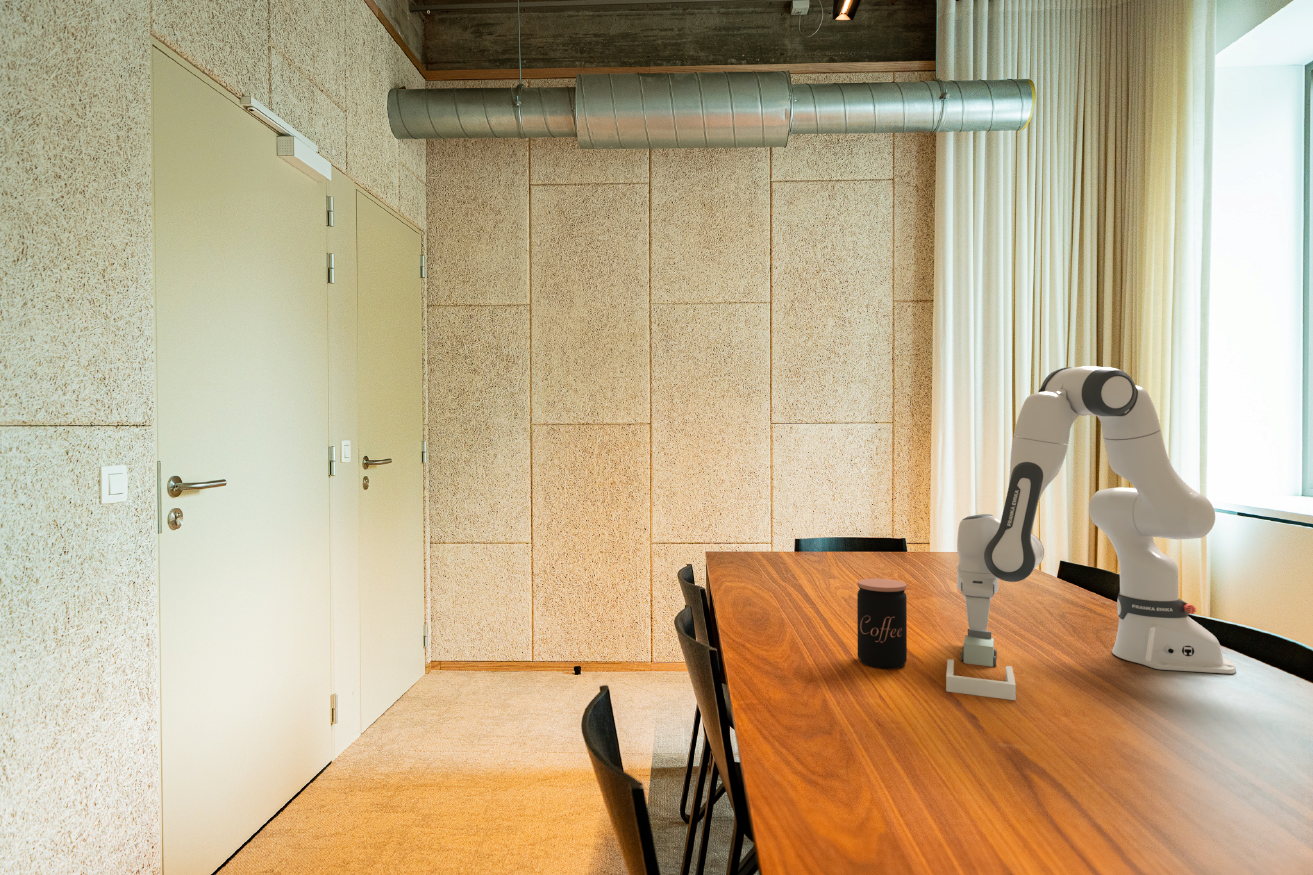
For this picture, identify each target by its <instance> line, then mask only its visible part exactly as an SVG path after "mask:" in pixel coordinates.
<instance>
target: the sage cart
mask: <svg viewBox="0 0 1313 875" xmlns="http://www.w3.org/2000/svg"><path fill="white" fill-rule="evenodd" d="M997 654H998V651H997V649H995V638H994V637H992V631H991V630H986V631H975V630H970V629H969V628H967V634H966V635H965V637H964V640H963V645H962V648H961V652H960V662H963V664H969V665H977V666H985V667H992V668H993V667H994V666H997V659H998V657H997V656H998V655H997Z"/></svg>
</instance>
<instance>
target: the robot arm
mask: <svg viewBox="0 0 1313 875" xmlns="http://www.w3.org/2000/svg"><path fill="white" fill-rule="evenodd" d="M1079 416H1084V417H1085V416H1096V417H1097V418H1098V420H1099V421H1100V425H1101V426H1100V427H1101V434H1102V439H1103V443H1104V448H1105V451H1106V457H1107V461H1108V465H1109V467H1110V469H1111V470H1112V472H1114V473H1115V474H1116V475H1118V476H1120V477H1121V478H1123V479H1125V480H1126V481H1128V482H1129V484H1131V485H1132V486H1133V487H1126V486H1125V487H1123V486H1119V487H1111V488H1104V489H1099V490H1097V491H1096V492H1095V493H1093V495H1092V497H1091V498H1090V500H1089V503H1088V515H1089V517H1090V519H1091V521H1092V523H1093V524H1094V525H1095V526H1096V527H1097V528H1099V530H1101V531H1102V532H1103V533H1104V534H1105V536H1106V537H1107V538H1108V540H1109V541H1110V543H1111V545H1112V547H1113V549H1114V552H1115V554H1116V557H1117V562H1118V568H1119V569H1118V570H1119V571H1118V572H1119V593H1118V594H1117V599H1116V600H1117V601H1116V602H1117V605H1116V607H1117V608H1116V610H1117V611H1116V612H1117V617H1118V626H1117V634H1116V638H1115V639H1116V640H1115V643H1114V646H1113V648H1112V650H1111V651H1112V652H1111V653H1112V654H1113V655H1115V656H1116V657H1118V658H1120V659H1123V660H1124V661H1125V660H1126V661H1128V662H1132V663H1137V664H1140V665H1144V666H1147V667H1150V668H1152V669H1156V670H1165V671H1181V672H1182V671H1183V672H1198V673H1211V674H1213V673H1214V674H1215V673H1216V674H1217V673H1218V674H1231V675H1232V674H1235V673H1236V672H1237V669H1236V665H1235V663H1234V662H1232V660H1230V659H1228V658H1227V657H1225V656H1223V651H1222V648H1221V644H1220V642H1219V640H1218V639H1217V637H1216V636H1215V635H1214V634H1213V633H1212V632H1210V631H1209V630H1208V629H1206V628H1205V627H1203V625H1201V624H1199V623H1198V622H1197V621H1195V620H1194V619H1192V618H1191V617H1190V616H1189V615H1194V614H1195V613H1197V607H1196V606H1195V605H1193V604H1192V603H1188V602H1186V601H1185V600H1182V599H1181V598H1179V568H1178V567H1179V566H1177V563H1176V562H1175V560H1174V559H1172V558H1171V557H1170V556H1169V555H1166V554H1165V553H1164V552H1162V551H1161V550H1160V549H1159V548H1158V547H1157V544H1156V543H1155V541H1154V538H1161V539H1169V540H1170V539H1171V540H1193V539H1201V538H1204V537H1206V536H1207V535H1208V534H1209V533H1210V532H1211V530H1212V529H1213V527H1214V525H1215V521H1216V512H1215V508H1214V506H1213V504H1212V503H1211V501H1210V500H1209V499H1208V498H1207V497H1206V496H1204V495H1202V494H1200V493H1199V492H1198V491H1196V490H1195V489H1193V488H1192V487H1190V486H1189V485H1188V484H1187V483H1186V482H1185V481H1184V480H1183V479H1182V478H1181V477H1180V476H1179V474H1178V473H1177V471H1176V470H1175V469H1174V467H1173V466H1172V463H1171V462H1170V459H1169V457H1168V453H1167V450H1166V446H1165V442H1164V439H1163V434H1162V430H1161V425H1160V420H1159V418H1158V414H1157V410H1156V408H1155V405H1154V403H1153V401H1152V398H1151V396H1150V394H1149V392H1148V391H1147V390H1146V389H1145V388H1144V387H1142V386H1141V385H1136V384H1135V382H1134V380H1133V379H1132V377H1131V376H1129V374H1128V373H1127V372H1125V371H1123V370H1121V369H1119V368H1116V367H1112V366H1103V367H1102V366H1096V365H1084V366H1076V367H1070V366H1069V367H1063V368H1059V369H1056V370H1054V371H1052V372H1051V373H1049V374H1048V375H1047V376H1046V377H1045V379H1044V380H1043V382H1042V384H1041V386H1040V388H1039V390H1038V391H1037V392H1034V393H1031V394H1030V395H1028V396H1027V398H1026V399H1025V400H1024V401H1023V404H1022V407H1021V409H1020V411H1019V415H1018V418H1017V420H1016V425H1015V428H1014V431H1013V438H1012V441H1011V450H1010V460H1009V461H1010V462H1009V469H1010V470H1009V480H1008V489H1007V493H1006V497H1005V502H1004V507H1003V512H1002V515H1001V518H1000V519H998V518H997V517H996V516H995V515H993V514H988V513H985V514H974V515H969V516H967V517H965V518H962V520H961V521H960V522H959V525H958V528H957V541H956V542H957V543H956V550H957V554H958V563H957V567H956V568H957V570H956V572H957V573H956V574H957V575H956V576H957V578H956V580H957V582H956V584H957V586H956V587H957V589H958V590H959V591H960V592H961V594H962V596H963V597H964V600H965V606H966V607H965V610H966V618H967V623H968V629H970V630H975V631H987V629H988V625H989V624H988V623H989V615H990V608H991V600H992V599H993V598H994V596H995V594H996V593H998V592H999V580H1001V581H1004V582H1008V583H1009V582H1010V583H1014V582H1015V583H1016V582H1021V581H1023V580H1026V579H1027V578H1028V577H1029V576H1030V575H1031V574H1032V572H1033V571H1034V570H1035V569H1036V568H1038V566H1039V565H1040V564H1041V563H1042V561H1043V559H1044V557H1045V556H1044V555H1045V549H1044V546H1043V544H1042V541H1041V540H1040V539H1039V537H1037V536H1036V535H1035V534H1033V533H1032V532H1033V529H1034V528H1033V526H1034V523H1035V519H1036V514H1037V510H1038V506H1039V502H1040V499H1041V497H1042V495H1043V493H1044V492H1045V490H1046V488H1047V487H1048V486H1049V485H1050V483H1051V482H1052V481H1053V480H1054V479H1055V478H1056V477H1057V476H1058V475H1059V473H1060V471H1061V468H1062V466H1063V464H1064V461H1065V458H1066V454H1067V451H1068V447H1069V446H1068V445H1069V442H1070V434H1071V433H1070V432H1071V429H1072V426H1073V424H1074V423H1075V420H1076V419H1077V418H1078V417H1079Z"/></svg>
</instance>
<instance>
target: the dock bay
mask: <svg viewBox="0 0 1313 875" xmlns="http://www.w3.org/2000/svg"><path fill="white" fill-rule="evenodd" d="M954 664H955V660H954V659H951V658H949V659H948V658H947V662H946V676H945V680H946V681H945V682H946V683H945V685H946V686H945V687H946V688H945V691H946V692H950V693H956V694H964V695H971V696H980V697H986V698H994V699H1000V700H1001V699H1003V700H1010V701H1016V700H1017V698H1016V697H1017V696H1016V694H1017V691H1016V690H1017V689H1016V688H1017V686H1016V680H1015V674H1014V671H1013V670H1014V669H1013V666H1012V665H1005V681H1004V680H995V679H986V678H979V677H977V678H976V677H970V676H969V677H968V676H964V675H963V676H960V675H956V674H955V669H954V668H955V665H954Z"/></svg>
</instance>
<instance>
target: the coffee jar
mask: <svg viewBox="0 0 1313 875" xmlns="http://www.w3.org/2000/svg"><path fill="white" fill-rule="evenodd" d="M857 587H858V588H859V589H858V590H857V594H856V595H857V597H856V598H857V599H856V600H857V601H856V602H857V603H856V604H857V609H856V612H857V613H856V614H857V619H856V620H857V624H856V626H857V658H858V659H859V661H860V662H861V664H863V665H865V666H866V667H869V668H873V669H874V668H875V669H880V670H881V669H882V670H893V669H894V670H895V669H900V668H902V667H903V666H904V665H905V664H906V662H907V660H908V654H907V652H908V647H907V646H908V642H907V641H908V640H907V638H908V636H907V634H908V633H907V631H908V630H907V629H908V628H907V623H908V622H907V620H908V618H907V616H908V615H907V614H908V613H907V610H908V609H907V607H908V606H907V603H908V602H907V599H908V598H907V594H906V593H905V591H906V590H907V584H906V583H905V582H904V581H900V580H896V579H890V578H864V579H859V580H858V581H857Z"/></svg>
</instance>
